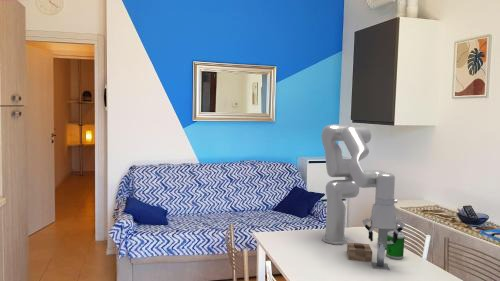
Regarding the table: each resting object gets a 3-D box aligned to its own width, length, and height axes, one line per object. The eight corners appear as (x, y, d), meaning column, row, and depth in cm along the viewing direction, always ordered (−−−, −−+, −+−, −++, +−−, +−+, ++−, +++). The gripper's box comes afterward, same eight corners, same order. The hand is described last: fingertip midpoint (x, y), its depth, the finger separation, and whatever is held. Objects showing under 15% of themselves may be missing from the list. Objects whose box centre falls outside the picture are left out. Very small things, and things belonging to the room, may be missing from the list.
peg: (376, 264, 172) (377, 242, 171) (383, 264, 171) (384, 242, 171) (377, 266, 169) (378, 244, 168) (384, 267, 168) (385, 244, 168)
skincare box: (378, 248, 193) (380, 217, 191) (377, 244, 200) (378, 213, 198) (396, 250, 191) (398, 218, 189) (394, 245, 198) (396, 215, 196)
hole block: (346, 252, 186) (347, 242, 186) (368, 254, 184) (369, 244, 184) (348, 260, 176) (349, 249, 176) (371, 262, 175) (372, 251, 174)
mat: (370, 262, 174) (370, 262, 174) (387, 264, 173) (387, 263, 173) (372, 269, 167) (372, 268, 167) (390, 270, 166) (390, 269, 166)
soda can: (402, 255, 184) (403, 230, 183) (404, 261, 177) (405, 235, 176) (385, 253, 186) (386, 228, 185) (386, 259, 179) (388, 233, 178)
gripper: (403, 201, 170) (401, 240, 171) (362, 199, 173) (361, 237, 174) (407, 205, 163) (405, 245, 164) (364, 202, 165) (363, 242, 166)
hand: (382, 241), depth 169 cm, fingers open, 9 cm apart
